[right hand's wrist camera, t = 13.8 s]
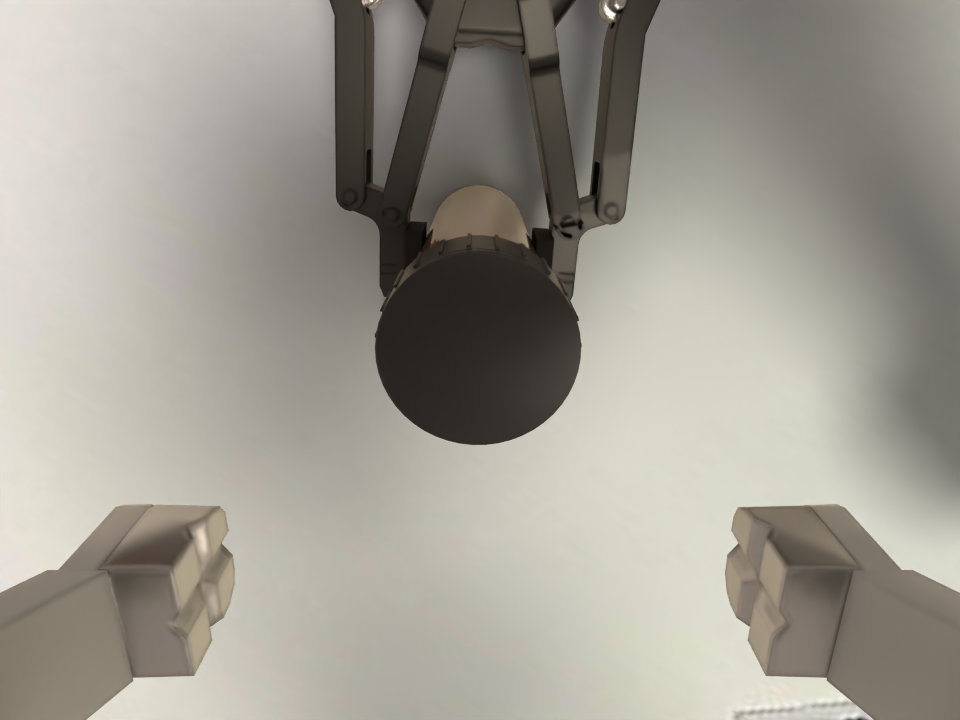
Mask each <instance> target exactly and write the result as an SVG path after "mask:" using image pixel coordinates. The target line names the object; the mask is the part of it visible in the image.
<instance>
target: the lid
mask: <svg viewBox="0 0 960 720" xmlns="http://www.w3.org/2000/svg"><path fill="white" fill-rule="evenodd" d="M393 287H394V288H393V290H392V292H389V293H388V295H387V297H386V299H385V301H384V303H383V305H382V307H381V310H380V311H381V312H382V315H381V317H380V320H379V323H378V328H377V331H376V333H375V338H376V342H375V354H376V363H377V368H378V373H379V375H380V378H381V381H382V384H383V386H384V388H385V390H386V392H387V394H388V396H389V397H390V399H391V400H392V401H393V403H394V404H395V406H396V407H397V408H398V409H399V410H400V411H401V412H402V414H403V415H404V416H405V417H407V418H408V419H409V420H410V421H411V422H412V423H414V424H415V425H417V426H418V427H420V428H421V429H423V430H424V431H426V432H428V433H430V434H432V435H434V436H436V437H439V438H442V439H445V440H447V441H452V442H456V443H461V444H470V445H487V444H495V443H500V442H504V441H508V440H512V439H514V438H517V437H520V436H522V435H524V434H526V433H528V432H530V431H532V430H534V429H535V428H537V427H538V426H540V425H541V424H542V423H544V422H545V421H546V420H547V419H548V418H549V417H551V416H552V415H553V414H554V413H555V412H556V410H557V409H558V408H559V407H560V406H561V405H562V403H563V402H564V400H565V399H566V397H567V396H568V394H569V392H570V390H571V388H572V386H573V384H574V382H575V379H576V376H577V373H578V369H579V364H580V358H581V340H580V332H579V327H578V323H577V321H579V319H578V316H577V314H576V312H575V310H574V308H573V306H572V303H571V301H570V300H569V301H568V298H567V296H569V295H568V293H567V291H566V288H565V286H564V284H563V282H562V280H561V278H560V277H559V278H557V277H556V275H555V274H554V273H553V271H552V270H551V269H550V267H549V266H548V265H547V262H546V260H545V259H544V258H542V259H541V258H540V257H538V256H537V255H536V254H534V253H533V252H532V251H530V250H528V249H527V248H525V247H524V244H523V243H520V244H517V243H515V242H512V241H510V240H507V239H503V238H499V236H498V235H496V234H495V236H486V235H471V233H468V236H462V237H457V238H453V239H450V240H446V241H445V239H443V240H441V243H439V244H437V245H435V246H433V247H431V248H429V249H428V250H426V251H424V252H423V253H422V252H421V251H420V252H419V253H418V255H417V258H416V259H414V260H413V261H412V262H411V264H410V265H409V266H408V267H407V268H406V269H405V270H401V271H400V273H399V275H398V277H397V279H396V281H395V283H394V286H393Z"/></svg>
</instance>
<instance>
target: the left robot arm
mask: <svg viewBox="0 0 960 720" xmlns="http://www.w3.org/2000/svg"><path fill="white" fill-rule="evenodd" d="M382 1H383V0H330V3H331V6H332V9H333V12H334V15H335V135H336V199H337V202H338V204H339V205H340V206H341V207H342V208H343V209H345V210H348V211H355V212H358V213H360V214H363V215H365V216H367V217H369V218H371V219H372V220H373V221H374V222H375V223H376V224H377V226H378V228H379V232H380V288H381V290H382V293H383V295H384V297H387V295H388V293H389V292H392V290H393V288H394V287H393V286H394V283H395V281H396V279H397V277H398V275H399V273H400V271H401V270H405V269H406V268H407V267H408V266H409V265H410V264H411V262H412V261H413V260H414V259H416V258H417V255H418V253H419V252H420V251H421V250H422V248H423V245H424V243H425V240H426V229H427V222H410V213H411V211H412V209H413V208H412V206H413V202H414V199H415V195H416V191H417V188H418V184H419V181H420V177H421V173H422V170H423V166H424V163H425V159H426V155H427V152H428V148H429V145H430V141H431V137H432V134H433V130H434V126H435V123H436V119H437V116H438V112H439V108H440V105H441V101H442V98H443V94H444V90H445V87H446V83H447V80H448V76H449V73H450V70H451V67H452V64H453V60H454V57H455V53H456V49H457V47H460V48H473V47H477V46H482V45H486V44H491V45H494V46H497V47H500V48H503V49H505V50H511V51H521V57H522V63H523V69H524V73H525V77H526V82H527V88H528V94H529V100H530V106H531V112H532V118H533V124H534V130H535V136H536V142H537V148H538V154H539V160H540V166H541V172H542V178H543V184H544V190H545V196H546V202H547V208H548V214H549V219H550V223H549V229H543V228H532V240H531V242H532V244H533V247H534V249H535V252H536V254H537V256H538V257H540V258H541V259H542V258H544V259H545V260H546V262H547V265H548V266H549V267H550V269H551V270H552V271H553V273H554V274H555V275H556V277H557V278H559V277H560V278H561V280H562V282H563V284H564V286H565V288H566V291H567V293H568V295H569V296H567V298H568V301H569V300H571V298H572V296H573V290H574V280H575V271H576V261H577V251H578V243H579V240H580V238H581V236H582V235H583V234H584V233H585V232H586V231H587V230H589V229H592V228H595V227H598V226H602V225H605V224H609V225H611V224H616V223H618V222H619V221H621V219H622V218H623V217H624V214H625V210H626V201H627V192H628V183H629V174H630V166H631V157H632V148H633V139H634V130H635V121H636V112H637V103H638V95H639V86H640V77H641V68H642V59H643V50H644V41H645V34H646V32H647V29H648V27H649V25H650V23H651V20H652V18H653V16H654V14H655V11H656V9H657V7H658V5H659V2H660V0H599V6H598V10H599V15H600V17H601V18H602V19H603V20H604V21H605V22H606V23H609V26H608V29H607V33H606V37H605V41H604V48H603V57H602V67H601V78H600V89H599V99H598V110H597V121H596V132H595V142H594V153H593V164H592V174H591V185H590V195H588V196H585V197H582V198H579V197H578V190H577V183H576V177H575V170H574V163H573V157H572V150H571V143H570V137H569V130H568V123H567V116H566V110H565V103H564V96H563V90H562V83H561V76H560V69H559V53H558V46H557V39H556V33H555V27H556V26H557V25H558V23H559V22H560V21H561V19H562V18H563V17H564V15H565V14H566V13H567V12H568V10H569V9H570V8H571V6H572V5H573V4H574V2H575V1H576V0H414V1H415V3H416V4H417V6H418V8H419V9H420V11H421V13H422V14H423V16H424V18H425V19H426V21H427V22H426V26H425V30H424V34H423V38H422V41H421V45H420V50H419V55H418V61H417V66H416V69H415V73H414V77H413V81H412V85H411V89H410V92H409V96H408V100H407V104H406V108H405V112H404V115H403V119H402V123H401V127H400V131H399V135H398V138H397V142H396V146H395V150H394V154H393V158H392V161H391V165H390V169H389V173H388V177H387V181H386V185H385V188H382V187H380V186H378V185H375V184H373V115H374V23H373V17H372V11H371V10H372V9H374V8H376V7H378V6H379V5H380V4H381V3H382Z"/></svg>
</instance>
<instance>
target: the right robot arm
mask: <svg viewBox="0 0 960 720" xmlns="http://www.w3.org/2000/svg"><path fill="white" fill-rule="evenodd" d="M228 531H229V529H228V524H227V519H226V514H225V511H224V510H223V509H222V508H221V507H220V506H187V505H155V506H154V505H122V506H118V507H115V509H114V510H113V511H112V512H111V513H110V514H109V515H108V516H107V517H106V518H105V519H104V521H103V522H102V523H101V524H100V525H99V526H98V527H97V528H96V529H95V530H94V531H93V533H92V534H91V535H90V536H89V537H88V538H87V539H86V540H85V541H84V542H83V544H82V545H81V546H80V547H79V548H78V549H77V550H76V551H75V552H74V553H73V554H72V556H71V557H70V558H69V559H68V560H67V561H66V562H65V563H64V564H63V565H62V567H61V568H60V569H59V570H47V571H45V572H43V573H41V574H39V575H37V576H34V577H32V578H30V579H28V580H26V581H24V582H22V583H20V584H18V585H16V586H14V587H12V588H10V589H7V590H5V591H3V592H1V593H0V720H86V719H87V718H89V717H90V716H91V715H92V714H93V713H95V712H96V711H97V710H98V709H100V708H101V707H102V706H103V705H104V704H106V703H107V702H108V701H109V700H110V699H112V698H113V697H114V696H115V695H116V694H118V693H119V692H120V691H121V690H123V689H124V688H125V687H126V686H127V685H129V684H130V683H131V682H132V681H133V678H135V677H169V676H194V675H195V673H196V671H197V669H198V667H199V665H200V663H201V661H202V659H203V657H204V655H205V653H206V651H207V649H208V647H209V645H210V644H211V642H212V636H211V630H210V627H211V626H212V625H214V624H215V623H216V622H218V621H219V620H221V619H222V618H223V617H224V615H225V613H226V611H227V609H228V607H229V605H230V602H231V597H232V593H233V588H234V574H235V568H234V561H233V555H232V554H231V553H230V552H229V551H228V550H227V549H226V548H225V547H224V546H223V545H222V541H223V539H224V538H225V536H226V534H227V532H228ZM731 531H732V532H733V534H734V536H735V538H736V539H737V541H738V545H737V546H736V547H735V548H734V549H733V550H732V551H731V552H730V553H729V554H728V555H727V562H726V571H725V577H726V589H727V594H728V598H729V601H730V605H731V607H732V609H733V611H734V613H735V615H736V617H737V618H738V619H739V620H741V621H742V622H744V623H745V624H746V625H748V626H749V627H750V630H749V636H748V642H749V644H750V645H751V647H752V649H753V651H754V653H755V655H756V657H757V659H758V661H759V663H760V665H761V667H762V669H763V671H764V673H765V675H766V676H789V677H825V678H827V681H828V682H829V683H831V684H832V685H833V686H834V687H835V688H837V689H838V690H839V691H840V692H841V693H843V694H844V695H845V696H846V697H847V698H849V699H850V700H851V701H852V702H853V703H855V704H856V705H857V706H858V707H860V708H861V709H862V710H863V711H864V712H866V713H867V714H868V715H869V716H870V717H872V718H873V719H874V720H960V593H959V592H957V591H954V590H952V589H950V588H948V587H946V586H944V585H942V584H940V583H938V582H936V581H934V580H932V579H930V578H928V577H926V576H923V575H921V574H919V573H917V572H915V571H913V570H901V569H900V568H899V567H898V565H897V564H896V563H895V562H894V561H893V560H892V559H891V558H890V557H889V556H888V554H887V553H886V552H885V551H884V550H883V549H882V548H881V547H880V546H879V545H878V544H877V542H876V541H875V540H874V539H873V538H872V537H871V536H870V535H869V534H868V533H867V531H866V530H865V529H864V528H863V527H862V526H861V525H860V524H859V523H858V522H857V520H856V519H855V518H854V517H853V516H852V515H851V514H850V513H849V512H848V511H847V510H846V508H844V507H842V506H840V505H837V504H829V505H804V506H771V507H738V508H737V510H736V512H735V515H734V518H733V523H732V529H731Z"/></svg>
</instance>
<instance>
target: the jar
mask: <svg viewBox="0 0 960 720" xmlns="http://www.w3.org/2000/svg"><path fill="white" fill-rule="evenodd" d="M468 233H471V235H486V236H495V234H496V235H498V236H499V238H503V239H507V240H510V241H512V242H515V243H517V244H520V243H523V244H524V247H525V248H527V249H528V250H530V251H532V252H533V253H534V254H536V252H535V249H534V247H533V244H532V242H531V239H530V236H529V234H528V231H527V229H526V226H525V224H524V221H523V219H522V216H521V214H520V211H519V209H518V208H517V206H516V204H515V203H514V202H513V200H512V199H511V198H510V197H509V196H507V195H506V194H505V193H503V192H502V191H500V190H498V189H496V188H493V187H490V186H485V185H472V186H467V187H463V188H461V189H459V190H457V191H455V192H453V193H452V194H451V195H449V196H448V197H447V198H446V199H445V200H444V201H443V203H442V204H441V205H440V207H439V209H438V211H437V213H436V215H435V218H434V220H433V223H432V225H431V228H430V230H429V233H428V235H427V238H426V240H425V243H424V245H423V248H422V250H421V252H422V253H423V252H424V251H426V250H428V249H429V248H431V247H433V246H435V245H437V244H439V243H441V240H443V239H445V241H446V240H450V239H453V238H457V237H462V236H468ZM536 255H537V254H536Z"/></svg>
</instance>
